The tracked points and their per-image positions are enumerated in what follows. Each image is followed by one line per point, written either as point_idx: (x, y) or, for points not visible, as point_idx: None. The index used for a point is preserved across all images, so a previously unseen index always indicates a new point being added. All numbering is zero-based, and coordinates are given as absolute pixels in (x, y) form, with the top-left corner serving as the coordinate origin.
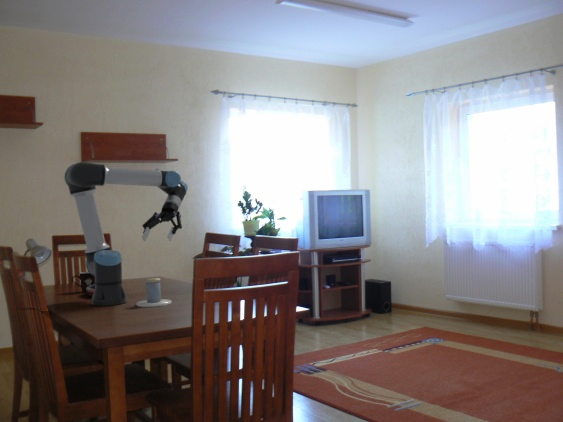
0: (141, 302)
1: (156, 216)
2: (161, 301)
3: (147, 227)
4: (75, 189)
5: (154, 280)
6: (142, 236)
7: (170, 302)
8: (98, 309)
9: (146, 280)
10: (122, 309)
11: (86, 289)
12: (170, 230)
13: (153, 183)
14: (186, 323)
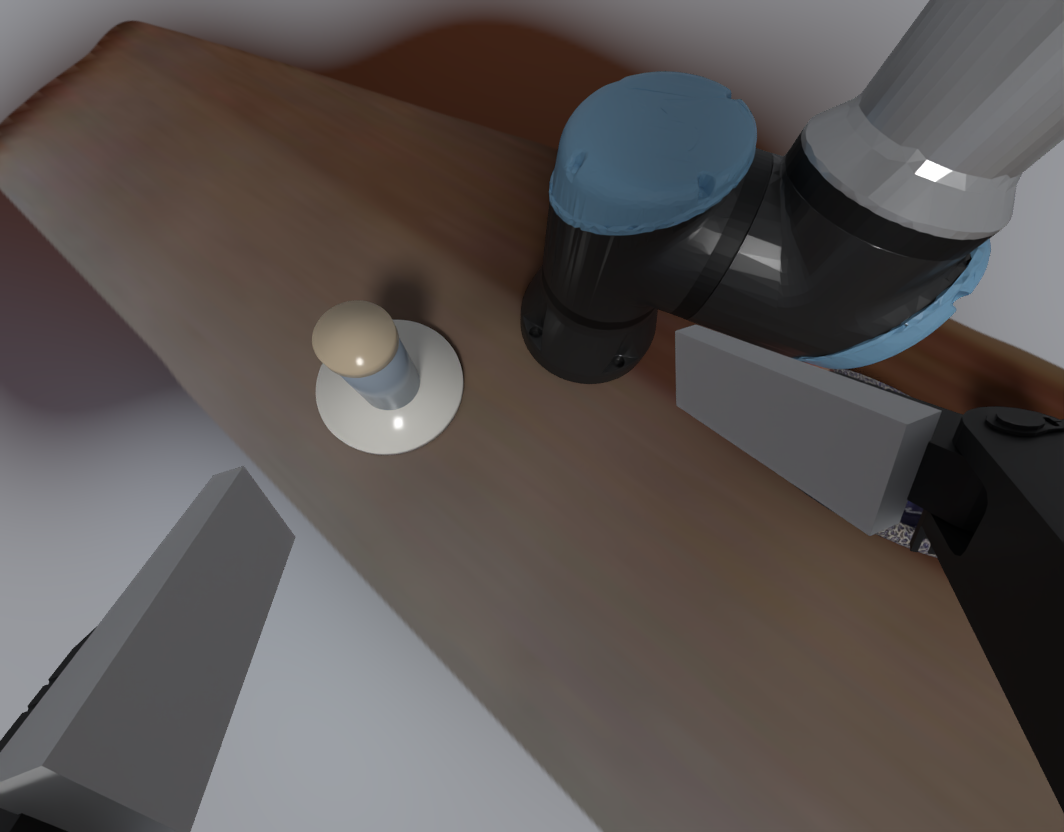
0: (430, 350)
1: None
2: (365, 403)
3: (899, 414)
4: None
5: (323, 320)
6: (700, 329)
7: (322, 417)
8: (499, 232)
9: (367, 303)
10: (417, 264)
11: (880, 382)
12: (146, 591)
13: None
14: (9, 195)
